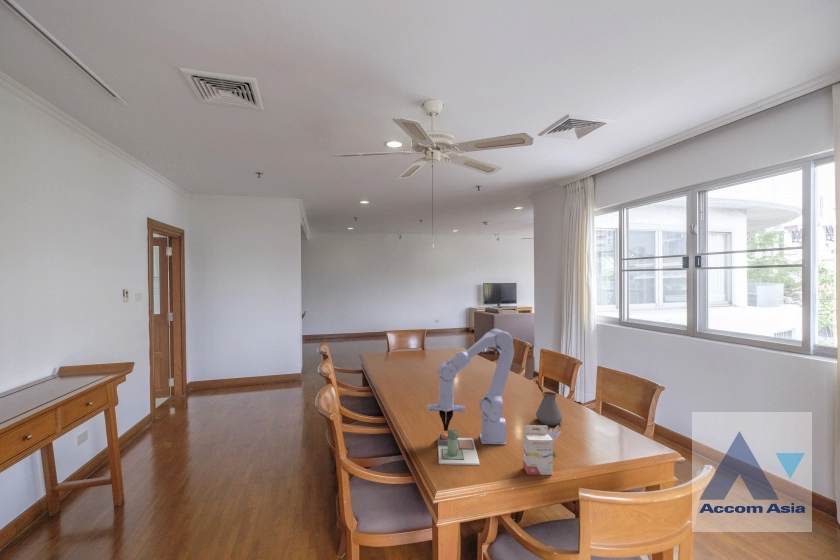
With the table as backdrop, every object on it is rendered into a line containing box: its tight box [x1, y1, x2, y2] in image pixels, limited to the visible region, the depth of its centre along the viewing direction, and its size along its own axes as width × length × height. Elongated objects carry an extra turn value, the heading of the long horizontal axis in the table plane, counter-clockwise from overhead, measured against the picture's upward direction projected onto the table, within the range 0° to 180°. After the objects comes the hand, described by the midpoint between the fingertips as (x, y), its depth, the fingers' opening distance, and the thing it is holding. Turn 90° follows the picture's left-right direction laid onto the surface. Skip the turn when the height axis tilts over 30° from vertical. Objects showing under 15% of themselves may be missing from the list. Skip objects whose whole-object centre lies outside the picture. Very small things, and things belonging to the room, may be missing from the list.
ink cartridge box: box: [522, 424, 554, 476], centre depth 122 cm, size 9×5×15 cm, turn 92°
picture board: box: [437, 433, 481, 466], centre depth 136 cm, size 14×20×2 cm
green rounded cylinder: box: [446, 429, 459, 456], centre depth 132 cm, size 4×4×8 cm
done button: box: [440, 432, 448, 440], centre depth 142 cm, size 4×4×2 cm
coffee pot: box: [534, 379, 564, 426], centre depth 170 cm, size 21×12×15 cm, turn 5°
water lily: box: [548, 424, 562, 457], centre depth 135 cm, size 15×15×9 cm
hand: (445, 429), depth 142 cm, fingers closed
